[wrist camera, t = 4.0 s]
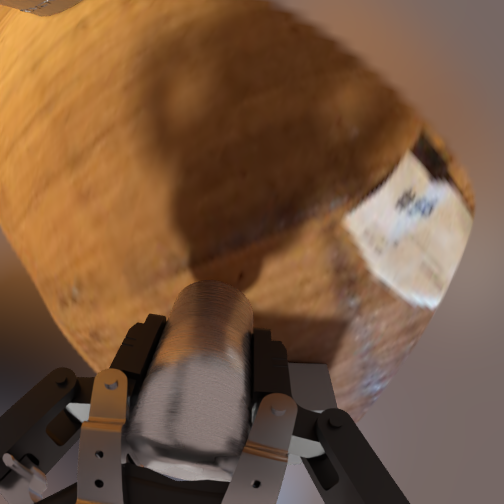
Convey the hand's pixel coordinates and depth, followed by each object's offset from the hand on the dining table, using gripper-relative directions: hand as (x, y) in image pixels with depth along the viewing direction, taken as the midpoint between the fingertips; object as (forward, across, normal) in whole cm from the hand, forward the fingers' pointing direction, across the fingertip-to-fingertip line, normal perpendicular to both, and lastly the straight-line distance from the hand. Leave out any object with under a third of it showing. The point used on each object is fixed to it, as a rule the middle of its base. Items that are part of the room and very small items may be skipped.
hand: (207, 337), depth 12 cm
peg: (+2, 0, 0) cm, 2 cm away
